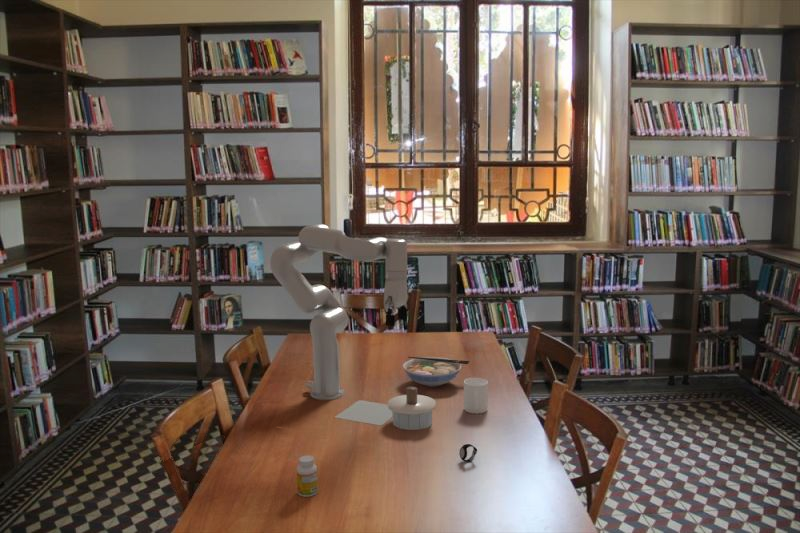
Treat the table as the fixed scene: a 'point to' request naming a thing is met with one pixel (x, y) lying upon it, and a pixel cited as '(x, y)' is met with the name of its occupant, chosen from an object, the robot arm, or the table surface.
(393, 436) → the table surface
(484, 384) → the mug
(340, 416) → the mat
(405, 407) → the lid
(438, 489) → the table surface
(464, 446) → the smartwatch
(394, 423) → the bowl
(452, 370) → the ramen bowl
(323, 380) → the robot arm
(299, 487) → the supplement bottle
